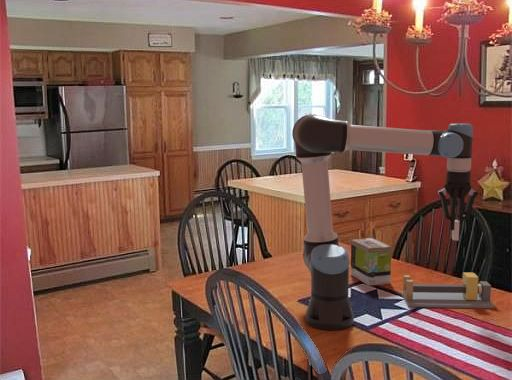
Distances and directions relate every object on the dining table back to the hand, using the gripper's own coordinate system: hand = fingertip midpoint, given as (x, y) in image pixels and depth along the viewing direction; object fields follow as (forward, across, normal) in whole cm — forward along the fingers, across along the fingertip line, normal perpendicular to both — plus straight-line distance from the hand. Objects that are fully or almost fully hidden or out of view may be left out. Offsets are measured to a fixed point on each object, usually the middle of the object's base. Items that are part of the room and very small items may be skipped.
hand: (455, 239), depth 181 cm
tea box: (+22, +25, -23) cm, 41 cm away
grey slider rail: (+22, +2, 0) cm, 22 cm away
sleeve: (+20, -6, 0) cm, 21 cm away
